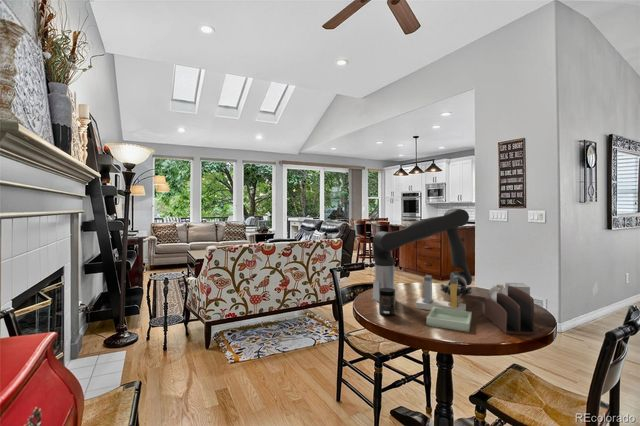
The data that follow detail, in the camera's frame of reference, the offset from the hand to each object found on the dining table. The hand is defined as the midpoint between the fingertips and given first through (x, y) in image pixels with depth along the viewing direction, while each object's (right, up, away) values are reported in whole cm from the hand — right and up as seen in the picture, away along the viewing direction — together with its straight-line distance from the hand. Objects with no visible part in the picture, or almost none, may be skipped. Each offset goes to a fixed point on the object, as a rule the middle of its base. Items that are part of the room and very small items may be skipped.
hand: (453, 293), depth 143 cm
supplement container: (-29, -9, -1) cm, 30 cm away
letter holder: (+15, -9, -14) cm, 23 cm away
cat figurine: (+27, -8, +13) cm, 31 cm away
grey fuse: (-8, -8, +8) cm, 14 cm away
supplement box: (+26, -8, -2) cm, 27 cm away
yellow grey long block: (+1, -8, +3) cm, 9 cm away
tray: (-6, -9, -11) cm, 15 cm away
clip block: (-4, -8, +5) cm, 10 cm away
